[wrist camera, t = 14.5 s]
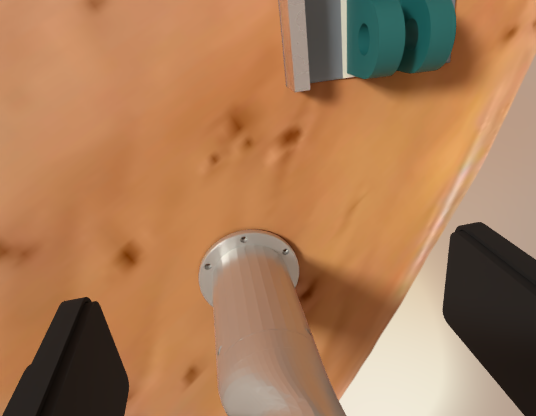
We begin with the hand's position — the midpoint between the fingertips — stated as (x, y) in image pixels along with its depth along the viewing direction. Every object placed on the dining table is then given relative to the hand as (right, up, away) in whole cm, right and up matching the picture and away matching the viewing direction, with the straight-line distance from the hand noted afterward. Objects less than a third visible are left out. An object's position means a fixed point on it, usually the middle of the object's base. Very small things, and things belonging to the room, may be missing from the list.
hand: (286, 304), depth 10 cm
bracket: (+10, +25, +27) cm, 38 cm away
